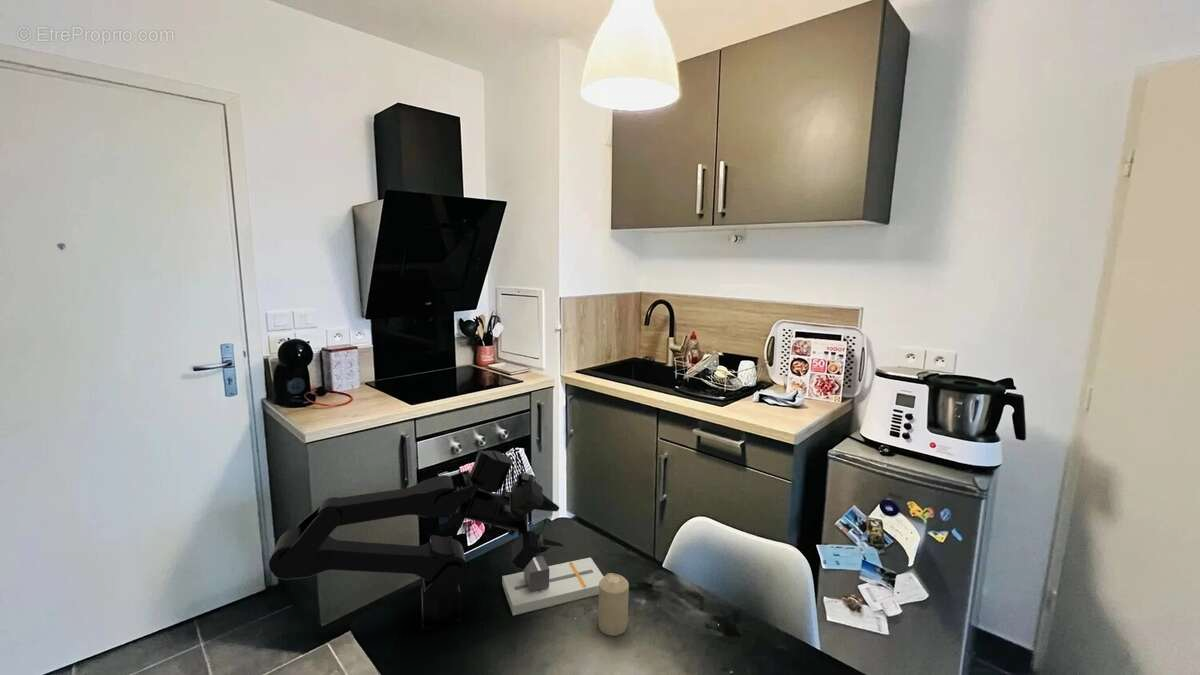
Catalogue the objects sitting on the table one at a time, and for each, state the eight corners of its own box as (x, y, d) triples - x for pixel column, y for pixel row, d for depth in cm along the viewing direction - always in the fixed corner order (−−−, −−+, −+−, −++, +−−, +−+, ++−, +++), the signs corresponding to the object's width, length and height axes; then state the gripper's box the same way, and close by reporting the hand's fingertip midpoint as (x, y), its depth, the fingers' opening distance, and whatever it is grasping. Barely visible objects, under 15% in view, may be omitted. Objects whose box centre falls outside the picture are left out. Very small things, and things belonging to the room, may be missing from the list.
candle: (630, 619, 94) (632, 571, 93) (622, 639, 89) (624, 588, 88) (603, 612, 96) (604, 565, 95) (594, 631, 91) (595, 581, 90)
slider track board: (512, 615, 95) (512, 605, 94) (502, 585, 104) (502, 575, 103) (607, 592, 102) (608, 582, 102) (590, 565, 111) (590, 556, 111)
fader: (529, 591, 98) (530, 572, 98) (523, 577, 103) (523, 558, 102) (549, 587, 100) (549, 568, 99) (542, 573, 104) (542, 555, 104)
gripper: (510, 523, 85) (586, 543, 91) (510, 446, 100) (575, 468, 106) (481, 561, 89) (556, 578, 95) (485, 481, 104) (549, 500, 111)
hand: (560, 527), depth 102 cm, fingers open, 9 cm apart
